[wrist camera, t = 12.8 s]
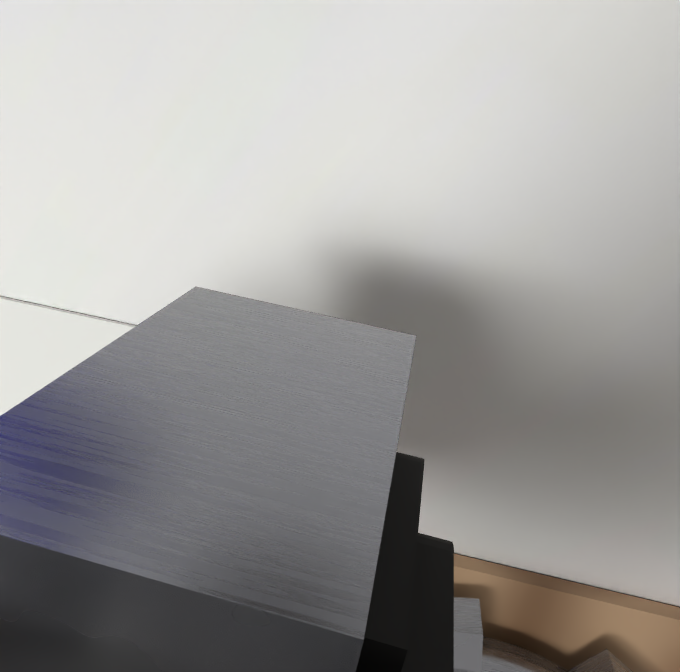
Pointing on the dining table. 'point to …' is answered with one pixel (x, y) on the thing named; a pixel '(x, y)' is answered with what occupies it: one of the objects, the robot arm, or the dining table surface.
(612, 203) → the dining table surface
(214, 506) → the grey rectangular block
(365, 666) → the robot arm
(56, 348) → the pad
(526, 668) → the sprocket
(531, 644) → the board
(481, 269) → the dining table surface
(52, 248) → the dining table surface
